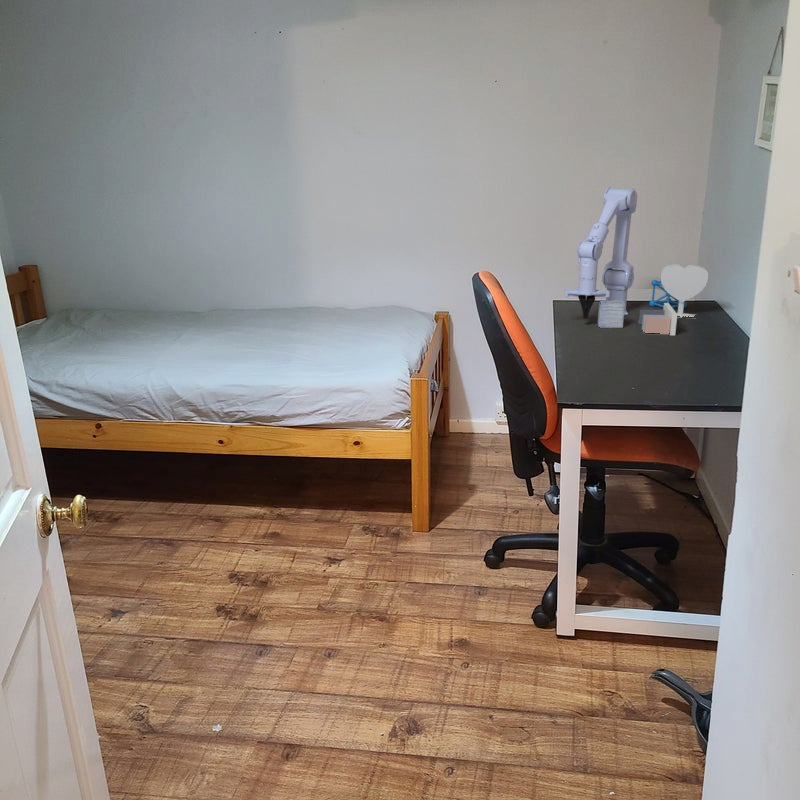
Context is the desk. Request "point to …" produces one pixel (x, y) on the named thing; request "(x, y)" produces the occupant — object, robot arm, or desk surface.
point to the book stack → (659, 320)
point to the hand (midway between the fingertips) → (585, 317)
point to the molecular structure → (667, 300)
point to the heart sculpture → (683, 283)
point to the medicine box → (611, 313)
